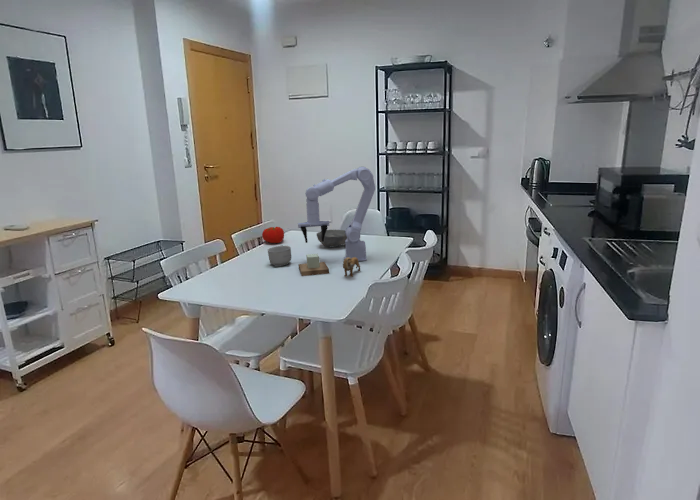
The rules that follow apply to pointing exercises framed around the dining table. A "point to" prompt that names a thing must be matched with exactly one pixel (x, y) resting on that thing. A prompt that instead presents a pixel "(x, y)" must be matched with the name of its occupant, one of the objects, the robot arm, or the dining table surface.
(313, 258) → the block
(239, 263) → the dining table surface
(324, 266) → the base
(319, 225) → the robot arm
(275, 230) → the tomato
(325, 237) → the bowl
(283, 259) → the teacup
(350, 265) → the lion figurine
